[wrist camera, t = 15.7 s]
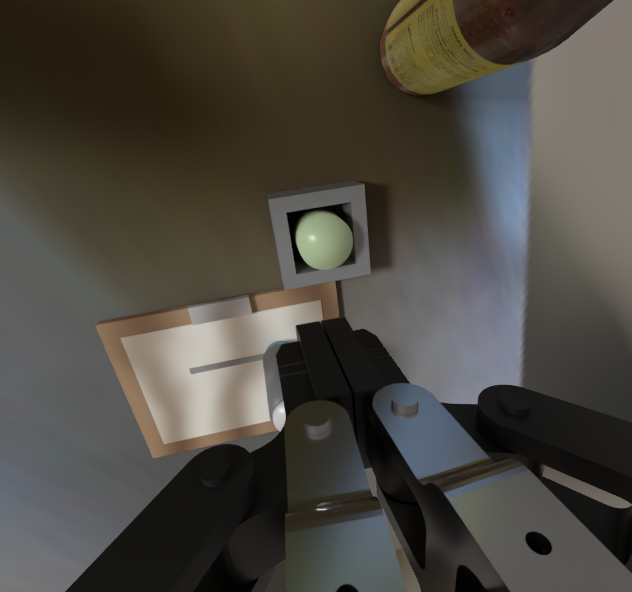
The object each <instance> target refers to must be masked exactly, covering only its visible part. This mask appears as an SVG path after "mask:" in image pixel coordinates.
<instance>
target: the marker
mask: <svg viewBox="0 0 632 592" xmlns="http://www.w3.org/2000/svg"><path fill="white" fill-rule="evenodd" d="M286 343H288V342H285V341H276V342H273V343H272V344H270V345H269V346H268V347H267V349H266V352H265V353H264V356H263V368H264V376H265V384H266V392H267V400H268V407H269V415H270V420H271V422H272V423H273V424H274V426H275V427H276V429H277V430H279V431H280V432H281V430H282V428H283V426H284V424H285V419H286V414H285V408H284V402H283V395H282V389H281V383H280V377H279V371H278V365H277V359H276V354H277V352H278V350H279V348H280V346H281V344H286Z"/></svg>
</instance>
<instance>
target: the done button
mask: <svg viewBox="0 0 632 592" xmlns="http://www.w3.org/2000/svg"><path fill="white" fill-rule="evenodd" d="M293 237H294V241H295V243H296V245H297V248H298V250H299V252H300V254H301V256H302V258H303V260H304V261H305V262H306V263H307V264H308V265H310V266H311V267H313V268H316V269H319V270H329V269H333V268H336V267H338V266H339V265H341V264H342V263H343V262H345V260H346V259H347V258H348V257H349V255H350V253H351V250H352V247H353V236H352V232H351V230H350V228H349V226H348V225H347V224H346V223H345V222H344V221H343V220H342V219H340V218H339V217H338V216H337V215H336V214H335V213H333V212H332V211H330V210H328V209H326V208H322V207H318V208H311V209H308V210H306V211H305V212H303V213H302V214H301V215H300V216H299V217H298V219H297V220H296V222H295V225H294V229H293Z"/></svg>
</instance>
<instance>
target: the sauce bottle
mask: <svg viewBox="0 0 632 592" xmlns="http://www.w3.org/2000/svg"><path fill="white" fill-rule="evenodd" d="M612 1H613V0H400V1H399V3H398V4H397V5H396V7H395V8H394V10H393V12H392V14H391V16H390V17H389V19H388V21H387V23H386V26H385V28H384V31H383V35H382V38H381V42H380V57H381V62H382V65H383V67H384V70H385V73H386V75H387V77H388V79H389V81H390V82H391V83H392V84H393V85H394V86H395V87H396V88H398V89H400V90H401V91H403V92H405V93H408V94H411V95H416V96H417V95H424V94H433V93H437V92H440V91H443V90H446V89H449V88H452V87H455V86H457V85H460V84H463V83H466V82H468V81H471V80H474V79H477V78H480V77H483V76H486V75H488V74H491V73H494V72H497V71H500V70H502V69H505V68H508V67H511V66H514V65H516V64H519V63H522V62H525V61H527V60H530V59H533V58H535V57H538V56H540V55H542V54H544V53H546V52H548V51H550V50H552V49H553V48H555V47H557V46H558V45H560V44H561V43H562V42H563V41H565V40H566V39H568V38H569V37H570V36H571V35H572V34H574V33H575V32H576V31H577V30H578V29H580V27H582V26H583V25H584V24H585V23H587V22H588V21H589V20H590V19H591V18H593V17H594V16H595V15H596V14H597V13H599V12H600V11H601V10H602V9H603V8H605V7H606V6H607V5H608V4H610V3H611V2H612Z"/></svg>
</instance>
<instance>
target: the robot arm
mask: <svg viewBox="0 0 632 592" xmlns="http://www.w3.org/2000/svg"><path fill="white" fill-rule="evenodd" d="M296 335H297V342H292V343H286V344H281V346H280V348H279V350H278V352H277V354H276V359H277V365H278V371H279V377H280V383H281V389H282V395H283V402H284V408H285V414H286V419H285V424H284V426H283V428H282V430H281V432H280V433H279V434H278V435H277V436H276V437H275V438H274V439H273V440H272V441H271V442H269V443H268V444H266V445H264V446H263V447H261V448H259V449H257V450H255V451H253V452H251V453H249V452H248V451H247V450H246V449H244V448H243V447H240V446H237V445H232V444H223V445H218V446H214V447H211V448H209V449H206V450H204V451H203V452H201V453H199V454H198V455H196V456H195V457H194V458H193V459H192V460H191V461H189V462H188V464H187V465H186V466H185V467H184V468H183V469H182V470H181V471H180V472H179V473H178V474H177V475H176V476H175V477H174V478H173V479H172V480H171V481H170V482H169V483H168V484H167V486H166V487H165V488H164V489H163V490H162V491H161V492H160V493H159V494H158V495H157V496H156V497H155V498H154V499H153V500H152V501H151V502H150V503H149V504H148V505H147V507H146V508H145V509H144V510H143V511H142V512H141V513H140V514H139V515H138V516H137V517H136V518H135V519H134V520H133V521H132V522H131V523H130V524H129V525H128V526H127V527H126V529H125V530H124V531H123V532H122V533H121V534H120V535H119V536H118V537H117V538H116V539H115V540H114V541H113V542H112V543H111V544H110V545H109V546H108V547H107V548H106V549H105V551H104V552H103V553H102V554H101V555H100V556H99V557H98V558H97V559H96V560H95V561H94V562H93V563H92V564H91V565H90V566H89V567H88V568H87V569H86V570H85V572H84V573H83V574H82V575H81V576H80V577H79V578H78V579H77V580H76V581H75V582H74V583H73V584H72V585H71V586H70V587H69V588H68V589H67V590H66V591H65V592H264V591H265V589H266V587H267V586H268V584H269V582H270V580H271V577H272V575H273V573H274V569H275V566H276V565H277V564H279V563H280V562H282V561H283V560H285V559H286V576H287V592H407V590H406V586H405V583H404V580H403V576H402V573H401V569H400V566H399V563H398V560H397V557H396V553H395V550H394V546H393V543H392V540H391V536H390V533H389V530H388V526H387V523H386V520H385V517H384V513H383V510H382V507H383V509H384V511H385V513H386V515H387V518H388V520H389V522H390V524H391V526H392V528H393V530H394V532H395V534H396V536H397V539H398V541H399V543H400V545H401V547H402V549H403V551H404V553H405V555H406V557H407V559H408V562H409V564H410V566H411V568H412V570H413V572H414V574H415V576H416V579H417V581H418V584H419V586H420V589H421V592H632V506H631V507H628V508H622V509H620V508H614V507H611V506H608V505H606V504H603V503H601V502H599V501H597V500H594V499H592V498H590V497H587V496H585V495H583V494H581V493H579V492H576V491H574V490H572V489H570V488H567V487H565V486H563V485H561V484H558V483H556V482H554V481H552V480H550V479H547V478H545V477H543V476H542V475H543V471H544V466H545V465H546V466H548V467H550V468H553V469H555V470H557V471H560V472H562V473H564V474H567V475H569V476H572V477H574V478H576V479H579V480H581V481H583V482H586V483H588V484H590V485H592V486H595V487H597V488H599V489H602V490H604V491H607V492H609V493H611V494H613V495H616V496H618V497H621V498H623V499H625V500H626V501H628V502H629V503H631V504H632V423H631V422H628V421H625V420H622V419H619V418H616V417H613V416H609V415H606V414H603V413H600V412H597V411H594V410H591V409H587V408H584V407H581V406H578V405H575V404H572V403H569V402H566V401H563V400H560V399H556V398H553V397H550V396H547V395H544V394H541V393H538V392H535V391H531V390H528V389H525V388H522V387H518V386H513V385H495V386H491V387H488V388H486V389H484V390H483V391H482V392H481V393H480V395H479V397H478V404H448V403H441V402H439V401H438V400H437V399H436V398H435V396H434V395H433V394H432V393H430V392H429V391H428V390H426V389H424V388H422V387H420V386H417V385H414V384H410V383H409V381H408V380H407V378H406V377H405V376H404V374H403V373H402V371H401V370H400V368H399V367H398V366H397V364H396V363H395V361H394V360H393V359H392V357H391V356H389V353H388V352H387V350H386V349H385V347H383V344H382V343H381V342H380V340H379V339H378V337H377V336H376V335H374V334H372V333H371V332H369V331H367V330H365V329H360V330H355V331H353V330H352V328H351V327H350V325H349V323H348V322H347V320H346V318H345V317H344V316H343V317H338V318H332V319H327V320H321V321H320V322H319V321H316V322H310V323H305V324H299V325H296ZM370 467H372V469H373V472H374V474H375V477H376V486H377V496H378V498H379V500H378V498H377V497H373V496H372V493H371V490H370V487H369V483H368V480H367V476H366V473H365V469H366V468H370ZM379 501H380V502H379ZM380 503H381V504H380ZM381 505H382V507H381Z"/></svg>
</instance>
